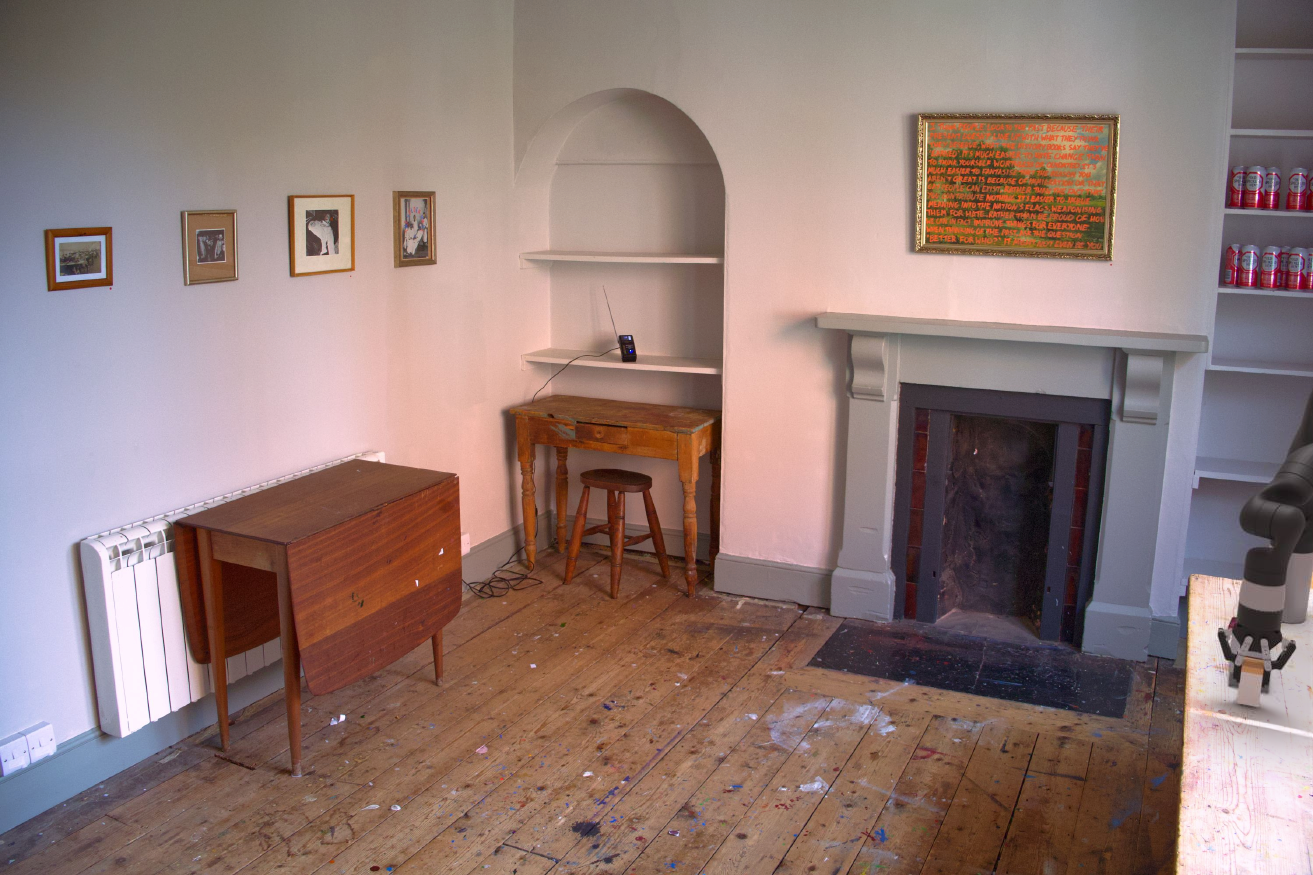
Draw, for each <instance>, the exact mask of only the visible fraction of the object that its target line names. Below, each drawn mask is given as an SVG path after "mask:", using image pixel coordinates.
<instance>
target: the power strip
mask: <svg viewBox="0 0 1313 875" xmlns="http://www.w3.org/2000/svg"><path fill="white" fill-rule="evenodd" d="M1239 645H1240V644H1239V642H1238V641H1237V639H1236V638H1235V636H1234V635H1231V639H1230V648H1231V651H1232V653H1234V654H1236V653H1237V651H1238V648H1239ZM1245 657H1247V658H1253V659H1259V660H1263V655H1262V653H1258V652H1256V651H1247V654H1246V656H1245ZM1263 663H1264V661H1263ZM1228 669H1229V670H1228V687H1233V688H1237V689H1238V688H1239V683H1237V682H1236V679H1233V669H1234V663H1233V662H1231V661H1229V667H1228ZM1270 681H1271V680H1270ZM1270 681H1269V684H1268V685H1265V687H1264V688H1263V687H1261V692H1260V693H1265V694H1268V693H1269V690H1270V689H1269V688H1270Z"/></svg>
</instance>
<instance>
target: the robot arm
mask: <svg viewBox="0 0 1313 875" xmlns="http://www.w3.org/2000/svg"><path fill="white" fill-rule="evenodd" d="M1293 437H1294V438H1293V439H1292V442H1291V444H1290V446H1289V448H1288V452H1287V454H1286V457H1285V460H1284V462H1283V463H1282V464H1281V466H1280V468H1279V469H1278V470H1277V473H1276V474H1275V476H1274V477H1273V479H1272V480H1271V481H1270V482H1269V483H1267V484H1266V485H1265V486H1264V487H1262V488H1261V489H1260V490H1259V491H1257V492H1256V493H1255V494H1253V495H1252V497H1250V498H1249V499H1248V500H1247V501H1246V503H1244V505H1243V506H1242V508H1241V510H1240V513H1239V517H1238V520H1239V521H1238V522H1239V525H1240V527H1241V529H1242V530H1243V532H1244V533H1246V534H1248V535H1252V536H1255V537H1260V538H1262V539H1267V540H1269V546H1267V547H1266V546H1257V547H1256V546H1255V547H1252V548H1250V549H1248V550H1247V552H1246V555H1245V562H1244V568H1243V576H1242V580H1241V584H1240V587H1239V592H1238V604H1237V612H1236V617H1237V618H1236V623H1235V625H1234V626H1233V627H1232V628H1231V629H1228V628H1226V629H1225V628H1223V627H1219V628H1218V629H1217V638H1218V641H1219V644H1220V647H1221V650H1222V654H1223V656H1224V659H1225V661H1228V662H1230V661H1231V662H1233V663H1234V669H1233V679H1236V682H1237V683H1240V677H1241V670H1242V662H1243V660H1244V657H1245V656H1246V654H1247V651H1256V652H1258V653H1262V655H1263V661H1264V670H1263V678H1262V685H1261V687H1263V688H1264V687H1265V685H1268V684H1269V685H1270V682H1269V681H1271V672H1272V671H1274V670H1277V671H1281V670H1283V669H1284V667H1285V666H1286V664H1287V663H1288V662H1289V660H1290V658H1291V657H1292V656H1293V654H1294V653H1295V651H1296V650H1297V643H1296V642H1297V641H1296V640H1294V639H1288V638H1286V637H1283V633H1282V632H1281V629H1282V628H1281V627H1282V623H1286V624H1287V623H1289V624H1299V623H1304V622H1305V621H1306V620H1307V613H1308V606H1309V602H1310V601H1309V599H1310V592H1311V586H1312V579H1313V387H1312V389H1311V391H1310V393H1309V395H1308V398H1307V401H1306V404H1305V408H1304V412H1303V415H1302V419H1301V423H1300V425H1299V428H1298V430H1297V432H1296V434H1295V435H1294V436H1293ZM1232 635H1234V636H1235V638H1236V639H1237V641H1238V642H1239V644H1240V645H1239V648H1238V651H1237V653H1236V654H1234V653H1232V651H1231V648H1230V647H1231V644H1230V641H1231V637H1232ZM1279 644H1281V651H1280V654H1279V655H1278V657H1277V658H1276V660H1275V659H1274V660H1272V657H1271V651H1272V650H1273V649H1274V648H1275V647H1276V646H1278V645H1279Z"/></svg>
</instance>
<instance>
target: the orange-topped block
mask: <svg viewBox="0 0 1313 875" xmlns="http://www.w3.org/2000/svg"><path fill="white" fill-rule="evenodd" d="M1263 670H1264V663H1263V660H1259V659H1253V658H1247V657H1244V660H1243V662H1242V670H1241V677H1240V683H1239V688H1238V687H1237V702H1236V703H1237V704H1239V705H1245V706H1251V707H1255V708H1260V707H1259V705H1260V699H1261V698H1260V697H1261V693H1262V692H1261V685H1262V678H1263Z"/></svg>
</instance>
